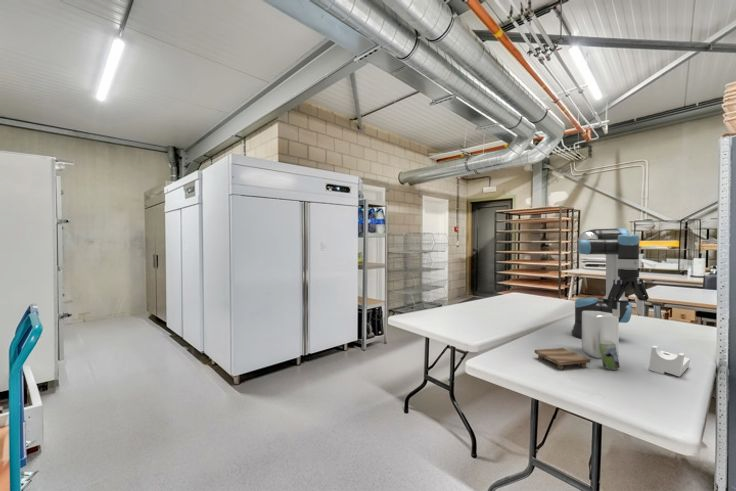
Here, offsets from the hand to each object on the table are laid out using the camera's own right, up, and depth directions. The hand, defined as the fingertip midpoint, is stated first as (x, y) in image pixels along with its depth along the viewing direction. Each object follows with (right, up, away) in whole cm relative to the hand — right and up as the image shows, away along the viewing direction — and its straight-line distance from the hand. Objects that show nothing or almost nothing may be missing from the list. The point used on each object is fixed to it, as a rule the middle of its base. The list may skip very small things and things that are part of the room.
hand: (628, 315), depth 142 cm
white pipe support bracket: (+17, -24, -1) cm, 30 cm away
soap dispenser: (-1, -24, +17) cm, 29 cm away
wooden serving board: (-26, -24, +7) cm, 36 cm away
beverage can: (-8, -24, 0) cm, 26 cm away
